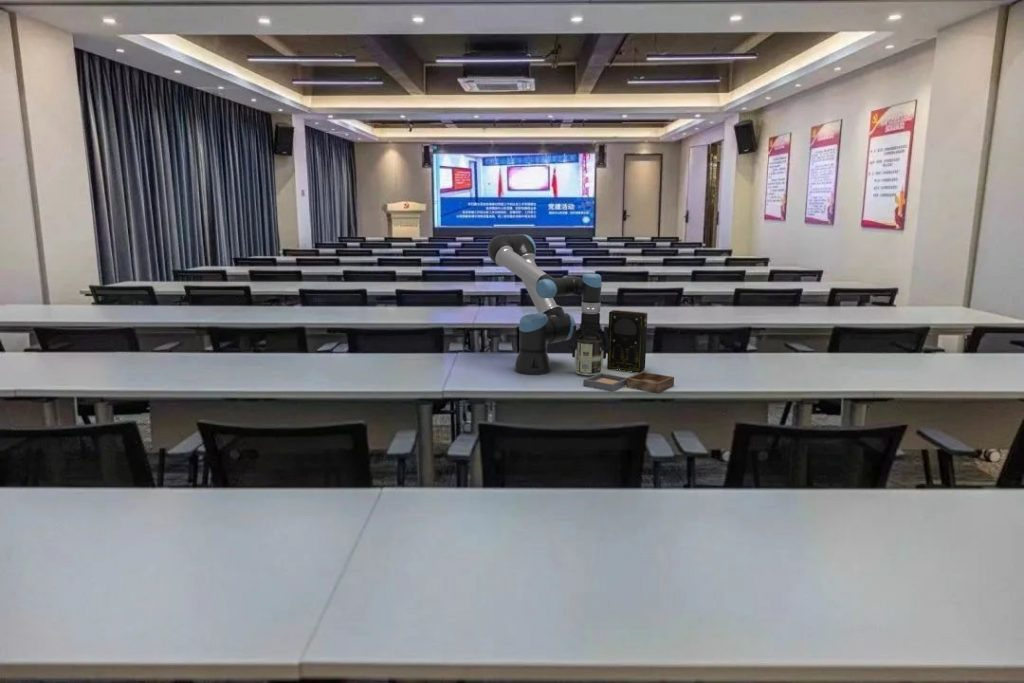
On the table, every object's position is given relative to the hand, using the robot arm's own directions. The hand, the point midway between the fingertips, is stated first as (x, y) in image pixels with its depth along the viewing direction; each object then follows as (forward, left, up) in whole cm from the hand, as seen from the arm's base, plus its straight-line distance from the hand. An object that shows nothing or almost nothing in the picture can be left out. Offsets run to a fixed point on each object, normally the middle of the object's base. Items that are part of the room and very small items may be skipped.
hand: (588, 365), depth 282 cm
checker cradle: (+14, -10, -4) cm, 18 cm away
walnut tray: (+28, -1, -4) cm, 29 cm away
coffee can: (0, 0, -3) cm, 3 cm away
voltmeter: (+8, +17, -4) cm, 19 cm away
